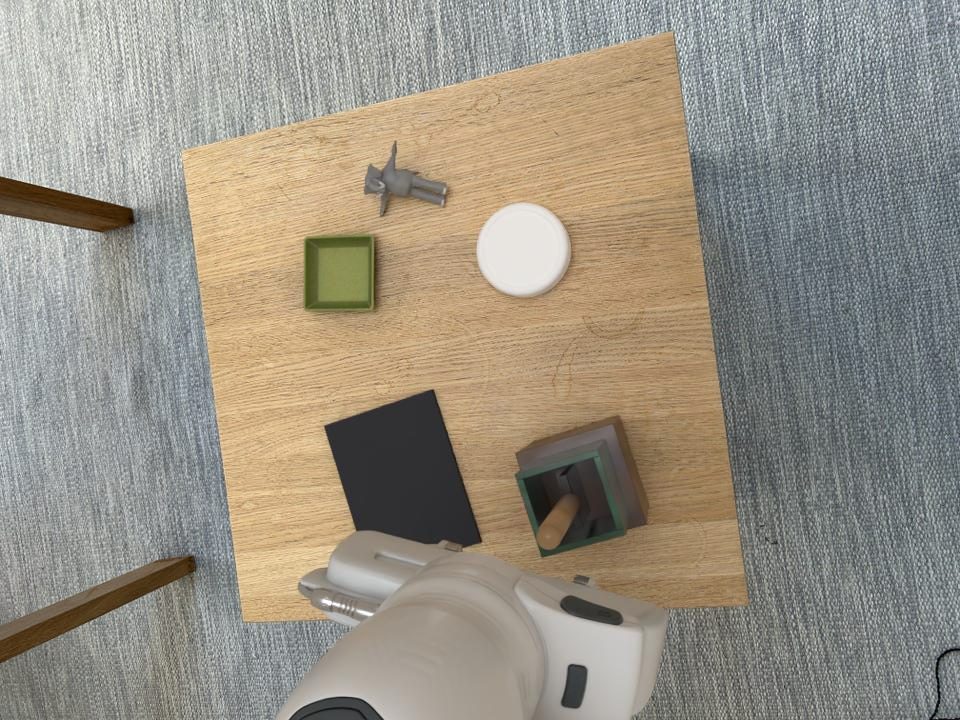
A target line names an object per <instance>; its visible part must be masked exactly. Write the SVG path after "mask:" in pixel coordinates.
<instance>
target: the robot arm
mask: <svg viewBox="0 0 960 720" xmlns="http://www.w3.org/2000/svg"><path fill="white" fill-rule="evenodd" d="M463 549H464V548H463V545H460V544H457V543H453V542H449V541H446V540H442V541H441V542H440V543H438V544H423V543H419V542H415V541H412V540H408V539H404V538H400V537H396V536H392V535H389V534H385V533H381V532H377V531H356V530H355V531H354V532H352V533H350V534H349V535H347V536H346V537H345V538H344V539H343V540H342V541H341V542H340V543H339V544H338V545H337V546H336V547H335V548H334V549H333V551H332V552H331V553H330V555H329V558H328V559H329V560H328V564H327V567H319V568H315V569H312V570H311V571H310V572H307V573H306V574H304V575H303V576H302V577H301V578H300V581H298V584H297V590H298V594H299V595H301V596H303V597H305V598H306V599H309V605H311V606H312V607H314V608H315V609H317V610H320V611H322V613H323V615H324V616H325V617H326V618H328V619H329V620H332V621H333V622H335V623H338V624H341V625H344V626H346V627H351V629H350V630H349V631H348V632H347V633H346V634H345V635H343V636H342V637H341V638H340V639H339V641H337V642H336V643H335V644H334V645H333V646H332V647H331V648H330V649H328V651H327V652H326V653H325V654H324V655H323V656H322V657H321V658H320V659H318V661H317V662H316V663H315V664H314V665H313V666H312V668H311V669H309V671H308V672H307V673H306V674H305V675H304V677H303V678H302V679H301V680H300V681H299V682H298V684H297V685H296V686H295V688H294V689H293V690H292V692H291V693H290V694H289V695H288V697H287V698H286V700H285V701H284V703H283V704H282V706H281V707H280V709H279V711H278V712H277V714H276V716H275V718H274V720H631V719H632V717H634V716H636V715H638V714H639V713H640V712H641V711H642V710H643V709H645V707H646V706H647V704H648V702H649V700H650V698H651V696H652V693H653V691H654V688H655V686H656V682H657V679H658V674H659V669H660V665H661V660H662V656H663V651H664V647H665V641H666V635H667V631H668V624H669V619H670V616H669V612H668V611H667V610H666V609H664V608H663V607H661V606H660V605H658V604H656V603H654V602H652V601H651V602H650V601H647V600H643V599H638V598H636V597H635V598H634V597H631V596H627V595H622V594H620V593H617V592H616V593H615V592H612V591H608V590H604V589H602V588H600V587H599V586H598V585H597V581H598V579H597V578H594V577H590V576H585V575H581V574H577V573H575V574H574V577H573V579H572V581H569V580H566V579H561V578H558V577H554V576H550V575H546V574H542V573H539V572H535V571H531V570H527V569H522V568H519V567H516V566H515V565H514V564H512V563H510V562H508V561H507V560H505V559H502V558H500V557H498V556H495V555H492V554H489V553H484V552H478V551H463Z"/></svg>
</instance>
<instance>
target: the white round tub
mask: <svg viewBox="0 0 960 720" xmlns="http://www.w3.org/2000/svg"><path fill="white" fill-rule="evenodd" d="M475 248H476V249H475V250H476V251H475V253H476V254H475V255H476V261H477V265H478V268H479V270H480V272H481V274H482V275H483V277H484V279H485V280H486V281H487V282H488V284H489V285H491V286H492V287H493V288H494V289H496V290H497V291H499V292H501V293H503V294H506V295H507V296H511V297H515V298H520V299H528V298H534V297H538V296H541V295H544V294H546V293H548V292H549V291H550V290H552V289H554V287H556V286H557V285H558V284H559V283H560V282H561V280H562V279H563V277H564V276H565V274H566V273H567V271H568V268H569V265H570V262H571V257H572V244H571V238H570V235H569V232H568V230H567V229H566V227H565V225H564V224H563V223H562V222H561V220H560V218H559V217H558V216H557V215H556V214H555V213H553V212H552V211H551V210H550V209H548V208H546V207H545V206H543V205H541V204H538V203H536V202H535V203H534V202H530V201H529V202H528V201H527V202H526V201H523V202H521V201H520V202H514V203H510V204H508V205H505V206H503V207H501V208H500V209H498V210H496V211H495V212H494V213H493V214H492V215H491V216H489V217H488V219H487V220H486V222H485V223H483V226H482V228H481V229H480V231H479V233H478V237H477V241H476V247H475Z"/></svg>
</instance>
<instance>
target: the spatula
mask: <svg viewBox="0 0 960 720" xmlns="http://www.w3.org/2000/svg"><path fill="white" fill-rule="evenodd" d="M559 480H560V483H561V486H562V489H563V492H564V495H563V496H562V497H561V498H560V500H559V501H558V502H557V504H556V505H555V507H554V508H553V509H552V511H551V512H550V513H549V515H548V516H547V518H546V519H545V520H544V522H543V523H542V525H541V526H540V527H539V529H538V530H537V533H536V539H535V541H536V540H537V542H536V544H537V543H538V544H539V545H540V546H541V547H542V548H544V549H547V550H551V549H554V548H556V547H557V546H558V545H559V544H560V542H561V540H562V539H563V537H564V535H565V533H566V531H567V530H568V528H569V526H570V524H571V522H572V521H573V523H574V526H575V529H579V528H583V526H584V524H585V522H586V520H587V518H588V516H589V514H590V512H591V510H590V507H589V504H588V501H587V498H586V495H585V492H584V489H583V486H582V483H581V480H580V477H579V474H578V471H577V468H576V465H575V464H571V465H569V466H568V467H567V468H566V469H565V470H564V471H563V472H562V474H561V475H560V476H559Z"/></svg>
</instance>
